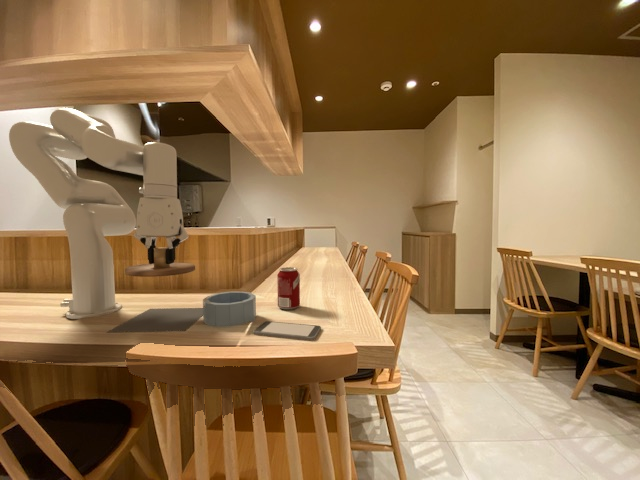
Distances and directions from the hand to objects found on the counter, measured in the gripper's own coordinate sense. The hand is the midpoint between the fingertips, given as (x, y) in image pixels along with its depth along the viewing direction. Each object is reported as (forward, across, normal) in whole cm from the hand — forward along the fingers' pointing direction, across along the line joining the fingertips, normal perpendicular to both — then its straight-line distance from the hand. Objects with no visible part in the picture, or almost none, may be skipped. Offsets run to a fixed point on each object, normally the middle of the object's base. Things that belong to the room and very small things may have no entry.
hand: (161, 262), depth 73 cm
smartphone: (+15, +34, -9) cm, 38 cm away
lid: (+2, 0, 0) cm, 2 cm away
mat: (+16, +1, 0) cm, 16 cm away
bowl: (+15, +18, 0) cm, 23 cm away
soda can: (+15, +33, +10) cm, 37 cm away
